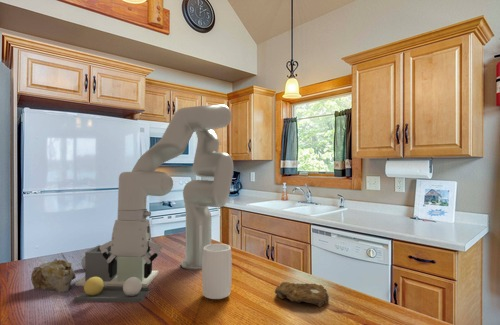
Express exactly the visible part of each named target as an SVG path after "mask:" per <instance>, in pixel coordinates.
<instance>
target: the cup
mask: <svg viewBox="0 0 500 325" xmlns="http://www.w3.org/2000/svg"><path fill="white" fill-rule="evenodd" d="M232 257H233V256H232V248H231V246H230V245H229V244H226V243H211V244H210V245H207V246H205V247H204V248H203V257H202V270H201V279H202V280H201V281H202V282H201V283H202V295H203V296H204V297H205V298H207V299H211V300H221V299H225V298H227V297H228V296H230V294H231V290H232V276H233V275H232V272H233V271H232V269H233V268H232V267H233V262H232V261H233V260H232Z"/></svg>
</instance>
